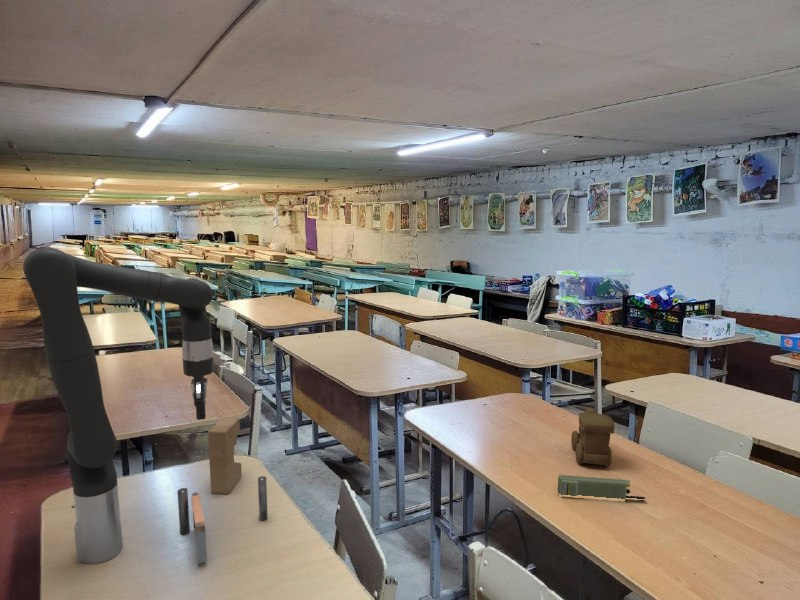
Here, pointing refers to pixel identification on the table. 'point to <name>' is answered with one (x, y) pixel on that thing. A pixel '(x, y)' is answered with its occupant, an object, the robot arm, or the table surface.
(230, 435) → the decorative block
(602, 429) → the wooden toy train
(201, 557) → the gate
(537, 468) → the table surface
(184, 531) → the gate frame
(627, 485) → the handheld radio
